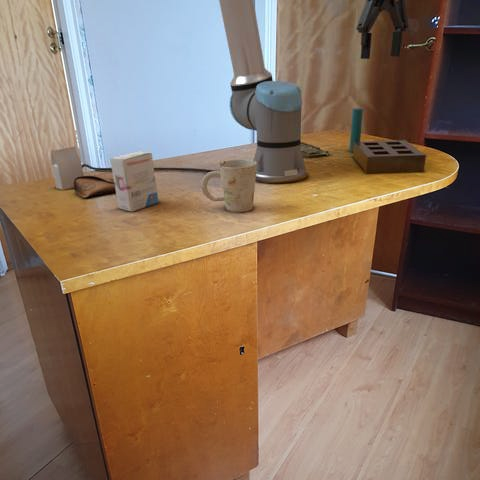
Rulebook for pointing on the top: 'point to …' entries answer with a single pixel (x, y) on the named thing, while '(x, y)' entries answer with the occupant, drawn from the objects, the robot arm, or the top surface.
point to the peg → (356, 126)
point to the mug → (234, 184)
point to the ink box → (134, 180)
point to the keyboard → (311, 150)
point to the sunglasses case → (94, 185)
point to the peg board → (388, 156)
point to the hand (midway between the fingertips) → (380, 57)
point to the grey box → (66, 167)
